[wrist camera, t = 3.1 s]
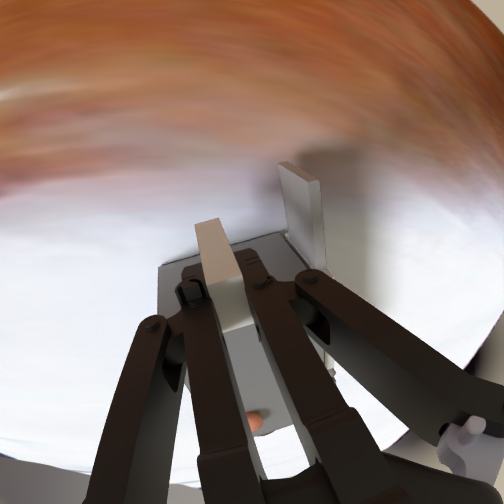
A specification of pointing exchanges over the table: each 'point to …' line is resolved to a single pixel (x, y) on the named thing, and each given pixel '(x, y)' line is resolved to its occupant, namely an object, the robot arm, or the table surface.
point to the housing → (246, 334)
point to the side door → (305, 223)
